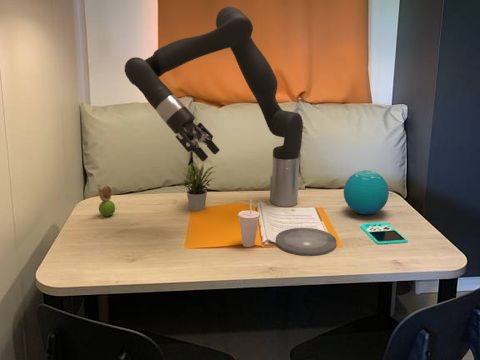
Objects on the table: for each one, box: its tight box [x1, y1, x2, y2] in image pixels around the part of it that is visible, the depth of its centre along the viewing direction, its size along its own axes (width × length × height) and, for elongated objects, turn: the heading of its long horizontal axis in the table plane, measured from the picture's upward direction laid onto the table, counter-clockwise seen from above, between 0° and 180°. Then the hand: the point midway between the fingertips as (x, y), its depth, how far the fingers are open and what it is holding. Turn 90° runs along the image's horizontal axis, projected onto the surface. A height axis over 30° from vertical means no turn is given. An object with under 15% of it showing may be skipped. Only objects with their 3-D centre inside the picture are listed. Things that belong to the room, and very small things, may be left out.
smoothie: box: [237, 199, 261, 248], centre depth 163 cm, size 6×6×14 cm
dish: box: [275, 227, 337, 257], centre depth 166 cm, size 18×18×1 cm
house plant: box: [177, 162, 217, 212], centre depth 192 cm, size 14×14×16 cm
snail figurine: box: [96, 184, 116, 217], centre depth 185 cm, size 5×6×12 cm
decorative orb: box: [343, 169, 390, 215], centre depth 188 cm, size 15×15×15 cm
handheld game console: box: [359, 221, 409, 246], centre depth 173 cm, size 10×16×1 cm, turn 9°
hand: (211, 155), depth 161 cm, fingers open, 8 cm apart
